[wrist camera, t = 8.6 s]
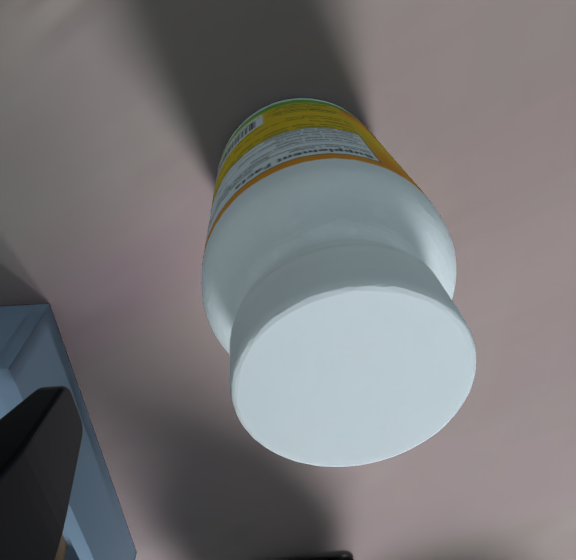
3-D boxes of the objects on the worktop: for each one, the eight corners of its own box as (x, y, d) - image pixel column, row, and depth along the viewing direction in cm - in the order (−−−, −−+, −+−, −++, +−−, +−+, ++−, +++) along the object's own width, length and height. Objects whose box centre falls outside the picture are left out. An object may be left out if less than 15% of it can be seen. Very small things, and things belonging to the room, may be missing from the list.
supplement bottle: (376, 243, 17) (495, 477, 9) (229, 257, 17) (213, 508, 9) (381, 86, 14) (563, 218, 6) (206, 102, 14) (147, 259, 6)
